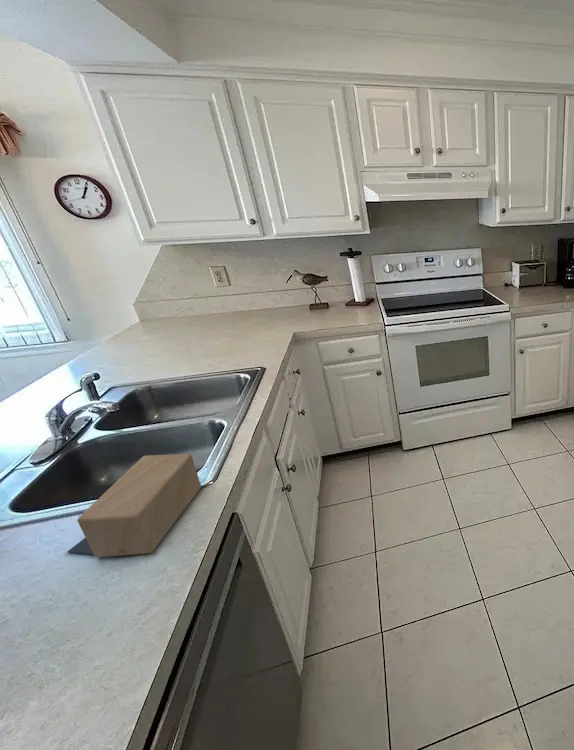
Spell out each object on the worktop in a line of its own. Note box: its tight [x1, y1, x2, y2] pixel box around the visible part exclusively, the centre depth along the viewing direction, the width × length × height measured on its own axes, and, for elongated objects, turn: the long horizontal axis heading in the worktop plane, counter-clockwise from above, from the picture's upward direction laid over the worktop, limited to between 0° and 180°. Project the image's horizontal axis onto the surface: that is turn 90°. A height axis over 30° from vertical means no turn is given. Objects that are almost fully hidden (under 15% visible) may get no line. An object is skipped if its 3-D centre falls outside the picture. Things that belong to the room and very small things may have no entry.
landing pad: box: [67, 537, 109, 558], centre depth 85 cm, size 9×8×1 cm
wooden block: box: [77, 453, 202, 558], centre depth 87 cm, size 10×10×20 cm
